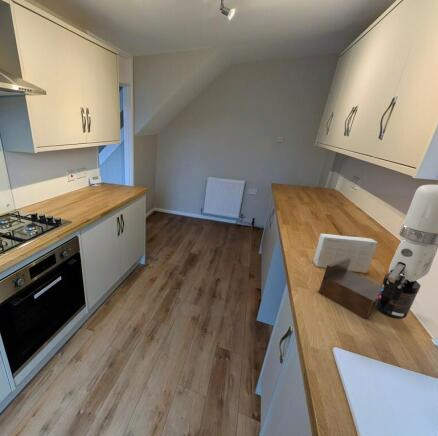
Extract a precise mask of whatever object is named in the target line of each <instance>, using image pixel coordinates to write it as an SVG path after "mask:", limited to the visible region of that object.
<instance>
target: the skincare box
mask: <svg viewBox="0 0 438 436" xmlns="http://www.w3.org/2000/svg"><path fill="white" fill-rule="evenodd" d="M317 242H318V243H317V246H316V251H315V254H314V257H313V261H312V263H313V265H315V267H317V268H323V269H326V268H327V265H329V264H332V263H335V262H338V261H340V260H343V259H346V258H349V259H351V261H350V263H349V266H348V269H347V270H349V271H351V272H354V273H362V274H368V273H369V269H370V266H371V264H372V261H373V258H374V255H375V252H376V250H377V246H378V244H379V242H378V241H376V240H375V239H373V238H369V237H361V236H349V235H340V234H339V235H338V234H328V233H320V234H319V238H318V241H317Z"/></svg>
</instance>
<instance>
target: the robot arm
mask: <svg viewBox="0 0 438 436" xmlns="http://www.w3.org/2000/svg"><path fill="white" fill-rule="evenodd" d="M398 238H400V242H399V245H398V246H397V249H396V250H395V253H394V255H393V257H392V260H391V262H390V264H389V267H388V274H390V275H389V277H388V280H387V282H386V285H385V288H384V290H383V293H382V295H383V296H385V297H387V298H390V299H392V300H394V301H398V300H399V298H400V295H401V293H402V291H403V288H402V287H403V285H404V283H405V282H406V280H409V281H410V282H413V281H416V282H418V280H419V279H421V278H423V277H425V276H426V275H428V274H429V272H430V269H431V268H432V265H433V262H434V259H435V258H436V257H435V256H436V254H437V251H438V184H423V185H420V186H418V188H416V191H415V192H414V195H413V197H412V200H411V202H410V205H409V208H408V210H407V213H406V215H405V218H404V220H403V224H402V226H401V229H400V230H399V233H398ZM400 275H402V276H405V277H402V276H400ZM398 278H400V279H402V280H401V282H400V283H399V280H397V279H398Z"/></svg>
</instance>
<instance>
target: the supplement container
mask: <svg viewBox="0 0 438 436" xmlns="http://www.w3.org/2000/svg"><path fill="white" fill-rule="evenodd" d="M389 275H390V273H385V275H384V278H383V279H382V283H381V284H380V285H381V288H380V291H379V293H378V296H377V298H376V301H375V303H373V305H374V308H375V309H376V311H377V312H379V313H380V314H382V315H384V316H385V317H388V318H391V319H395V320H403V319H405V318H407V317H408V315H409V312H410V310H411V308H412V305H413V303H414V301H415V299H416V297H417V295H418V293H419V291H420V289H421V284H420V283H419V282H418V281H417V280H416V281H417V282H416V281H413V282H410V281H409V280H406V282H405V283H404V285H403V287H402V288H403V291H402V293H401V295H400V298H399V300H398V301H394V300H392V299H390V298H387V297H385V296H383V295H382V293H383V290H384V288H385V285H386V282H387V280H388V277H389ZM400 276H402V277H405V276H403V274H400ZM397 280H399V283H400V282H401V280H402V279H400V278H398V279H397Z"/></svg>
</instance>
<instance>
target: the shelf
mask: <svg viewBox="0 0 438 436" xmlns="http://www.w3.org/2000/svg"><path fill="white" fill-rule="evenodd" d="M350 261H351V259H349V258H346V259H343V260H340V261H338V262H335V263H332V264H329V265H327V268H325V271H324V274H323V277H322V280H321V283H320V287H319V290H318V293H319V294H320V295H322V296H323V297H326V298H327V299H330V300H331V301H332V302H335V303H336V304H338V305H340V306H342V307H343V308H345V309H347V310H349V311H350V312H352V313H354V314H355V315H357V316H359V317H361V318H362V319H365V320H366V319H368V316H369V314H370V312H371V310H372V307H373V305H374V303H375V301H376V298H377V296H378V293H379V291H380V288H381V285H382V284H381V283H378V282H376V281H374V280H372V279H369V278H367V277H365V276H362V275H360V274H358V273H357V272H353V271H349V270H347V269H348V266H349V263H350Z"/></svg>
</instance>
